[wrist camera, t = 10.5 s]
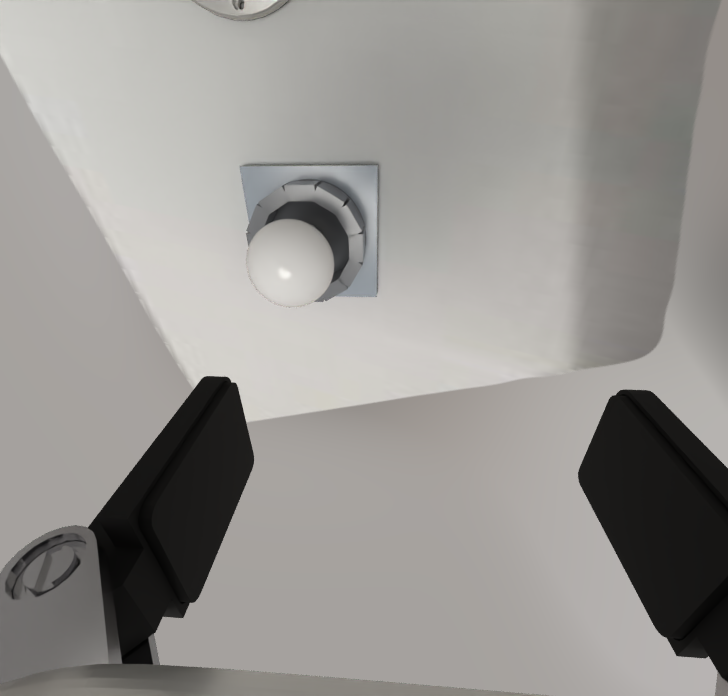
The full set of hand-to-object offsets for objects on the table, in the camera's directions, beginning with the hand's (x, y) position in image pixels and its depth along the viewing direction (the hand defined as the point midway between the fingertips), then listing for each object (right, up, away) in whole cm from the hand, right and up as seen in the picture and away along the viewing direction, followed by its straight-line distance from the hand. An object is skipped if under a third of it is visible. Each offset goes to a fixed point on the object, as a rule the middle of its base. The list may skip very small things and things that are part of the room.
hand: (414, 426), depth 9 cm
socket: (-6, +13, +26) cm, 29 cm away
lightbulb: (-6, +12, +24) cm, 28 cm away
